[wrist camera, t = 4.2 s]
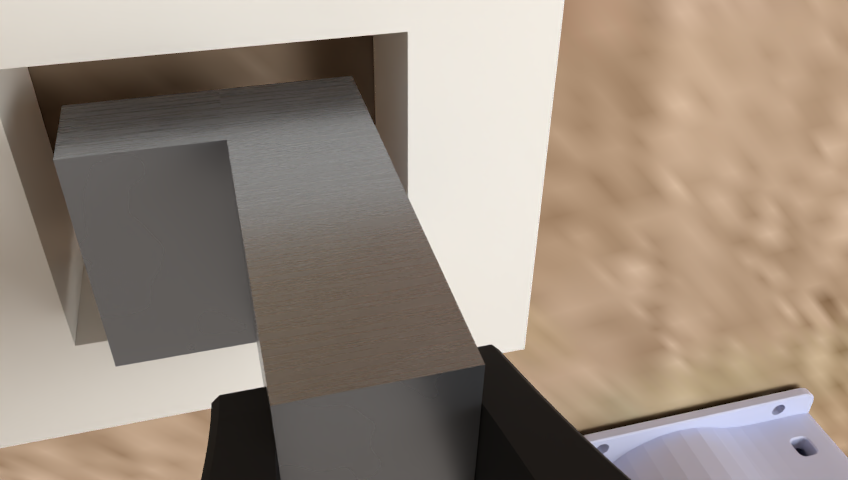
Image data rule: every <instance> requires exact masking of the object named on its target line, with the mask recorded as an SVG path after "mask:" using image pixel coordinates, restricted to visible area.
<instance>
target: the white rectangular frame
mask: <svg viewBox="0 0 848 480" xmlns="http://www.w3.org/2000/svg"><path fill="white" fill-rule="evenodd" d="M563 9H564V0H0V448H4V447H9V446H14V445H20V444H25V443H30V442H35V441H41V440H46V439H51V438H57V437H62V436H67V435H72V434H78V433H83V432H88V431H94V430H99V429H104V428H109V427H115V426H120V425H125V424H131V423H136V422H141V421H146V420H152V419H157V418H162V417H168V416H173V415H178V414H183V413H189V412H194V411H199V410H204V409H210V408H211V403H212V402H213V401H214V400H215V399H216V398H217V397H218V396H219V395H223V394H228V393H233V392H239V391H244V390H249V389H255V388H260V387H264V385H263V379H262V373H261V367H260V360H259V354H258V348H257V342H255V343H249V344H243V345H237V346H232V347H226V348H220V349H214V350H209V351H203V352H197V353H191V354H186V355H180V356H174V357H168V358H163V359H157V360H151V361H145V362H140V363H134V364H128V365H122V366H117V367H116V366H115V363H114V360H113V356H112V353H111V350H110V346H109V343H108V340H107V336H106V333H105V330H104V327H103V323H102V320H101V317H100V313H99V310H98V307H97V304H96V300H95V297H94V294H93V290H92V287H91V284H90V280H89V277H88V274H87V271H86V267H85V264H84V261H83V257H82V254H81V251H80V248H79V244H78V241H77V238H76V234H75V231H74V228H73V224H72V221H71V218H70V215H69V211H68V208H67V205H66V201H65V198H64V195H63V192H62V188H61V185H60V182H59V178H58V175H57V172H56V168H55V165H54V162H53V157H54V155H53V152H52V149H51V145H50V142H49V138H48V135H47V132H46V128H45V125H44V122H43V118H42V115H41V111H40V108H39V105H38V101H37V98H36V94H35V91H34V88H33V84H32V81H31V77H30V74H29V71H28V67H30V66H41V65H52V64H63V63H74V62H84V61H95V60H106V59H117V58H128V57H139V56H149V55H160V54H171V53H182V52H193V51H204V50H214V49H225V48H236V47H247V46H258V45H269V44H279V43H290V42H301V41H312V40H323V39H334V38H344V37H355V36H366V35H373V46H374V84H375V122H376V129H377V131H378V133H379V135H380V138H381V140H382V142H383V144H384V146H385V148H386V151H387V153H388V155H389V157H390V159H391V161H392V164H393V166H394V168H395V170H396V172H397V174H398V177H399V179H400V181H401V183H402V185H403V187H404V190H405V192H406V194H407V196H408V198H409V200H410V203H411V205H412V207H413V209H414V211H415V213H416V216H417V218H418V220H419V222H420V224H421V226H422V229H423V231H424V233H425V235H426V237H427V239H428V242H429V244H430V246H431V248H432V250H433V252H434V255H435V257H436V259H437V261H438V263H439V265H440V268H441V270H442V272H443V274H444V276H445V278H446V281H447V283H448V285H449V287H450V289H451V292H452V294H453V296H454V298H455V300H456V302H457V305H458V307H459V309H460V311H461V313H462V315H463V318H464V320H465V322H466V324H467V326H468V328H469V331H470V333H471V335H472V337H473V339H474V341H475V344H476V346H477V347H480V346H486V345H491V344H492V345H493V346H495V347H496V348H497V349H499V350H500V351H501V352H502V353H506V352H511V351H516V350H521V349H524V348H525V339H526V331H527V322H528V313H529V305H530V296H531V287H532V279H533V270H534V261H535V253H536V244H537V235H538V226H539V218H540V209H541V200H542V192H543V183H544V174H545V166H546V157H547V148H548V140H549V131H550V122H551V113H552V105H553V96H554V87H555V79H556V70H557V61H558V53H559V44H560V35H561V27H562V18H563Z"/></svg>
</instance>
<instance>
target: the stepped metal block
mask: <svg viewBox="0 0 848 480" xmlns="http://www.w3.org/2000/svg"><path fill="white" fill-rule="evenodd" d="M53 162H54V165H55V168H56V172H57V175H58V178H59V182H60V185H61V188H62V192H63V195H64V198H65V201H66V205H67V208H68V211H69V215H70V218H71V221H72V224H73V228H74V231H75V234H76V238H77V241H78V244H79V248H80V251H81V254H82V257H83V261H84V264H85V267H86V271H87V274H88V277H89V280H90V284H91V287H92V290H93V294H94V297H95V300H96V304H97V307H98V310H99V313H100V317H101V320H102V323H103V327H104V330H105V333H106V336H107V340H108V343H109V346H110V350H111V353H112V356H113V360H114V363H115V366H116V367H117V366H122V365H128V364H134V363H140V362H145V361H151V360H157V359H163V358H168V357H174V356H180V355H186V354H191V353H197V352H203V351H209V350H214V349H220V348H226V347H232V346H237V345H243V344H249V343H255V342H257V348H258V354H259V360H260V367H261V373H262V379H263V385H264V387H266V390H267V396H268V401H269V407H270V413H271V419H272V425H273V431H274V437H275V443H276V450H277V457H278V464H279V471H280V478H281V480H474V478H475V468H476V457H477V447H478V436H479V425H480V415H481V404H482V393H483V383H484V372H485V363H484V361H483V359H482V357H481V354H480V352H479V350H478V348H477V346H476V344H475V341H474V339H473V337H472V335H471V333H470V331H469V328H468V326H467V324H466V322H465V320H464V318H463V315H462V313H461V311H460V309H459V307H458V305H457V302H456V300H455V298H454V296H453V294H452V292H451V289H450V287H449V285H448V283H447V281H446V278H445V276H444V274H443V272H442V270H441V268H440V265H439V263H438V261H437V259H436V257H435V255H434V252H433V250H432V248H431V246H430V244H429V242H428V239H427V237H426V235H425V233H424V231H423V229H422V226H421V224H420V222H419V220H418V218H417V216H416V213H415V211H414V209H413V207H412V205H411V203H410V200H409V198H408V196H407V194H406V192H405V190H404V187H403V185H402V183H401V181H400V179H399V177H398V174H397V172H396V170H395V168H394V166H393V164H392V161H391V159H390V157H389V155H388V153H387V151H386V148H385V146H384V144H383V142H382V140H381V138H380V135H379V133H378V131H377V129H376V127H375V125H374V122H373V120H372V118H371V116H370V114H369V112H368V109H367V107H366V105H365V103H364V101H363V99H362V96H361V94H360V92H359V90H358V88H357V86H356V83H355V81H354V79H353V77H352V76H345V77H335V78H325V79H315V80H306V81H296V82H286V83H277V84H267V85H257V86H248V87H238V88H228V89H219V90H209V91H199V92H189V93H180V94H170V95H160V96H151V97H141V98H131V99H122V100H112V101H102V102H92V103H83V104H73V105H63V106H62V108H61V114H60V120H59V126H58V132H57V138H56V145H55V151H54V157H53Z"/></svg>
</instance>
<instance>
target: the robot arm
mask: <svg viewBox="0 0 848 480" xmlns="http://www.w3.org/2000/svg"><path fill="white" fill-rule="evenodd" d="M477 348H478V350H479V352H480V354H481V357H482V359H483V361H484V363H485V372H484V383H483V393H482V404H481V415H480V425H479V436H478V447H477V457H476V468H475V478H474V480H848V458H847V457H846V455H845V454H844V453H843V452H842V451H841V450H840V448H839V447H838V446H837V445H836V444H835V443H834V442H833V440H832V439H831V438H830V437H829V436H828V435H827V434H826V432H825V431H824V430H823V429H822V428H821V427H820V426H819V424H818V423H817V422H816V421H815V420H814V419H813V418H812V416H811V415H810V414H809V413H808V412H809V410H810V407H811V405H812V403H813V398H814V397H813V395H812V394H811V393H810V392H809V391H808V389H806V388H797V389H793V390H788V391H783V392H779V393H774V394H770V395H765V396H761V397H756V398H751V399H747V400H742V401H738V402H733V403H728V404H724V405H719V406H715V407H710V408H706V409H701V410H696V411H692V412H687V413H683V414H678V415H674V416H669V417H664V418H660V419H655V420H651V421H646V422H642V423H637V424H632V425H628V426H623V427H619V428H614V429H610V430H605V431H600V432H596V433H591V434H587V435H582V434H581V433H580V432H579V431H578V430H576V429H575V428H574V427H573V426H572V425H571V424H570V423H569V422H568V421H567V420H566V419H565V418H564V417H563V416H562V415H561V414H560V413H559V412H558V411H557V410H556V409H555V408H554V407H553V406H552V405H551V404H550V403H549V402H548V401H547V400H546V399H545V398H544V397H543V396H542V395H541V394H540V393H539V392H538V391H537V390H536V389H535V388H534V386H533V385H532V384H531V383H530V382H529V381H528V380H527V379H526V378H525V377H524V376H523V375H522V374H521V373H520V372H519V371H518V370H517V369H516V368H515V366H514V365H513V364H512V363H511V362H510V361H509V360H508V359H507V358H506V357H505V356H504V355H503V354H502V352H501V351H500V350H499V349H497V348H496V347H495V346H493V345H492V344H491V345H486V346H480V347H477ZM201 480H281V478H280V471H279V464H278V457H277V450H276V443H275V437H274V431H273V425H272V419H271V413H270V407H269V401H268V396H267V390H266V387H260V388H255V389H249V390H244V391H239V392H233V393H228V394H223V395H219V396H218V397H217V398H216V399H215V400H214V401H213V402H212V403H211V423H210V432H209V440H208V446H207V452H206V458H205V463H204V468H203V473H202V478H201Z"/></svg>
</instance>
